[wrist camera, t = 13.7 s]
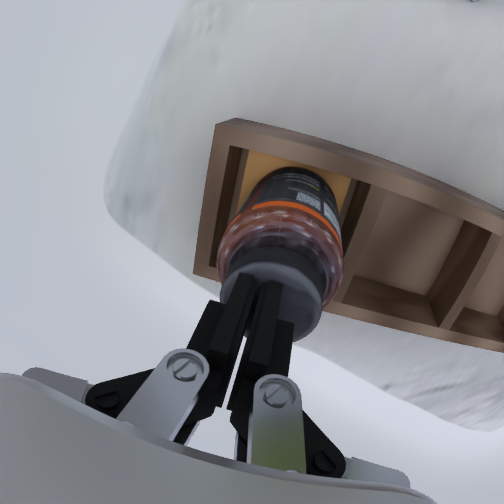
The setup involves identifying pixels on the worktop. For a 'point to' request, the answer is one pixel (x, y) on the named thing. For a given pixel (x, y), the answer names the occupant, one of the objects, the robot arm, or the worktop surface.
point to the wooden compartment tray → (375, 233)
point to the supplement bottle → (286, 245)
